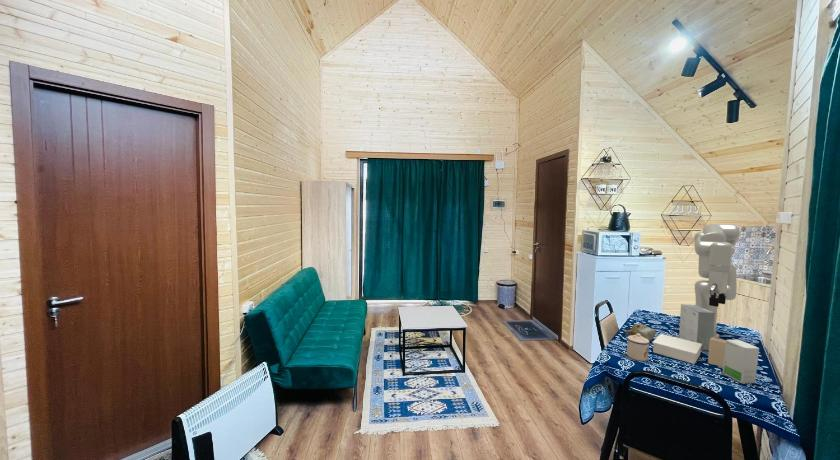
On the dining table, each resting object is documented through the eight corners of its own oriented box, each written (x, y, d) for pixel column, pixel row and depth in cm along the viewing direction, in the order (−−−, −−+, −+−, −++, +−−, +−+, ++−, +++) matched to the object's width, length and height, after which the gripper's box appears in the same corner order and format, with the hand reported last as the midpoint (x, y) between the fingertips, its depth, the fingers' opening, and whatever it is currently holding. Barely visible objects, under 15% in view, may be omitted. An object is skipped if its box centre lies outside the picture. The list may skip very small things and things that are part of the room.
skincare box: (722, 373, 140) (724, 339, 139) (735, 373, 140) (738, 339, 139) (742, 384, 131) (745, 347, 131) (757, 383, 132) (759, 347, 131)
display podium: (660, 343, 172) (661, 333, 171) (701, 354, 159) (702, 343, 159) (651, 352, 161) (652, 342, 160) (695, 364, 148) (696, 353, 148)
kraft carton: (709, 359, 153) (711, 336, 152) (726, 364, 148) (728, 340, 148) (708, 363, 150) (709, 339, 149) (725, 367, 145) (727, 343, 145)
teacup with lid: (648, 363, 149) (650, 339, 148) (625, 358, 154) (627, 334, 153) (648, 353, 159) (649, 331, 158) (626, 349, 164) (627, 327, 163)
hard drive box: (713, 351, 162) (715, 313, 161) (696, 350, 164) (698, 312, 162) (693, 339, 177) (695, 304, 176) (678, 338, 179) (680, 303, 178)
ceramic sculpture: (649, 327, 171) (621, 320, 184) (649, 343, 171) (621, 335, 184) (660, 324, 175) (632, 318, 189) (660, 340, 175) (632, 332, 189)
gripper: (715, 266, 158) (713, 300, 158) (702, 268, 148) (700, 305, 149) (735, 269, 151) (733, 304, 152) (724, 271, 142) (721, 309, 143)
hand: (717, 304), depth 150 cm, fingers open, 9 cm apart
